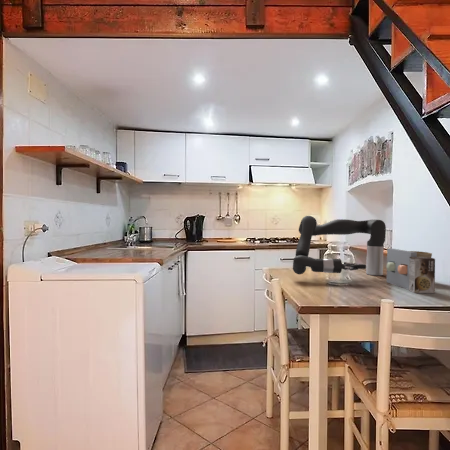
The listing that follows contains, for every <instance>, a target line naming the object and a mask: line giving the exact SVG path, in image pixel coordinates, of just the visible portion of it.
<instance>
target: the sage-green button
mask: <svg viewBox="0 0 450 450" xmlns="http://www.w3.org/2000/svg"><path fill="white" fill-rule="evenodd" d="M385 268H386V271H387V270H388V271H395V262H388V263H387V262H386V267H385Z"/></svg>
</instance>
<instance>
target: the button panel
mask: <svg viewBox="0 0 450 450" xmlns="http://www.w3.org/2000/svg"><path fill="white" fill-rule="evenodd" d="M386 251H387V254H386V264H387V263H388V262H395V271H388V270H387V269H386V283H388V284H392V285H395V286H397V287H400V288H402V289H406V290H408V291H410V290H409V259H410V257H417V252H411V251H412V250H406V249H405V250H404V249H399V248H398V249H396V248H387V249H386ZM399 265H408V268H407V274H399V273H398V266H399Z"/></svg>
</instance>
